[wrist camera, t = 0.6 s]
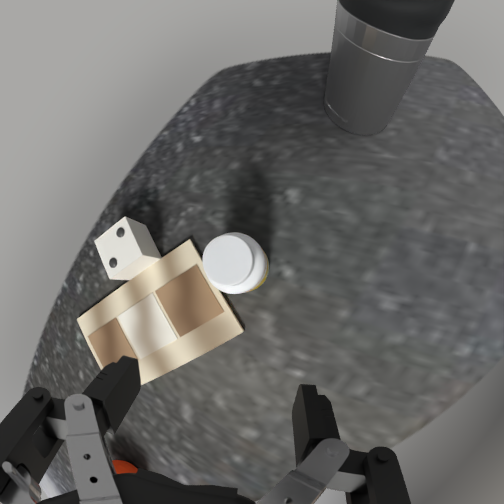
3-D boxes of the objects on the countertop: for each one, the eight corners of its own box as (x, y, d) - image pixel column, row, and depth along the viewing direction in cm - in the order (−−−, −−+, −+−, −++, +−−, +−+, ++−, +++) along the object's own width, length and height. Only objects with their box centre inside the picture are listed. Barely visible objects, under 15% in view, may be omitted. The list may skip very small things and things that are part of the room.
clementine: (142, 451, 30) (119, 475, 23) (164, 484, 29) (146, 510, 22) (106, 452, 30) (82, 471, 23) (127, 484, 29) (107, 505, 22)
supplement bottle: (211, 265, 31) (180, 257, 22) (246, 233, 31) (229, 211, 22) (243, 301, 30) (223, 309, 21) (279, 268, 30) (276, 262, 21)
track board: (191, 240, 32) (189, 239, 31) (244, 330, 30) (243, 331, 29) (79, 318, 33) (76, 319, 32) (118, 395, 31) (116, 396, 30)
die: (145, 224, 33) (124, 215, 28) (162, 259, 32) (142, 255, 27) (117, 246, 33) (93, 240, 28) (132, 280, 32) (109, 279, 27)
